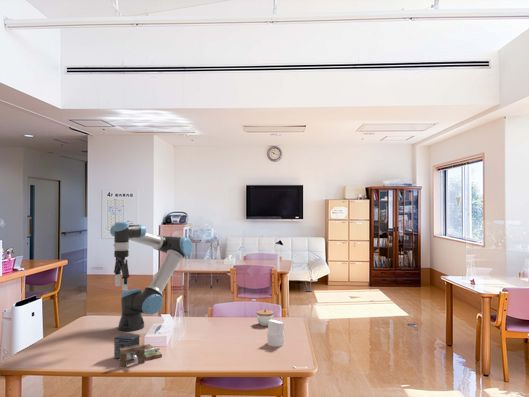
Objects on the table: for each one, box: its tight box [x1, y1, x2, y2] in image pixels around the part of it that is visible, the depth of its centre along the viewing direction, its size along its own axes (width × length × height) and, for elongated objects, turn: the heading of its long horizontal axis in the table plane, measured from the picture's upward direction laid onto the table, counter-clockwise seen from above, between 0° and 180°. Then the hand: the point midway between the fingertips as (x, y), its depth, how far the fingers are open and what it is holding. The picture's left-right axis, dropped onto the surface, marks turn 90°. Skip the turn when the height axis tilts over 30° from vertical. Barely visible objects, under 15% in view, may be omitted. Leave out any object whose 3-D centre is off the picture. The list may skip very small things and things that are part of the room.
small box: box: [113, 334, 140, 362], centre depth 207 cm, size 11×6×10 cm, turn 76°
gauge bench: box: [119, 343, 163, 369], centre depth 208 cm, size 20×20×8 cm
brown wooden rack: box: [120, 343, 160, 362], centre depth 200 cm, size 19×10×6 cm, turn 125°
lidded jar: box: [256, 308, 275, 327], centre depth 263 cm, size 11×11×9 cm
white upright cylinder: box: [267, 319, 285, 347], centre depth 227 cm, size 9×9×12 cm
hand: (121, 288), depth 233 cm, fingers open, 13 cm apart
